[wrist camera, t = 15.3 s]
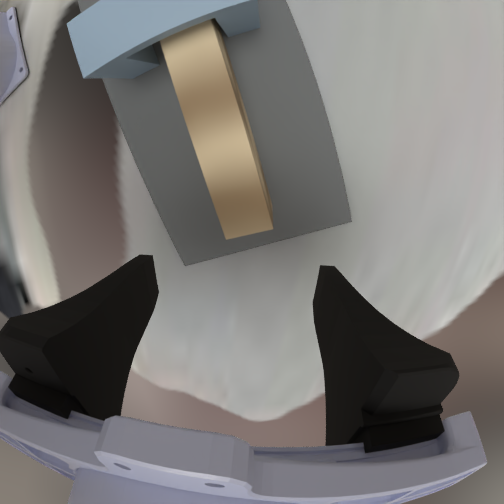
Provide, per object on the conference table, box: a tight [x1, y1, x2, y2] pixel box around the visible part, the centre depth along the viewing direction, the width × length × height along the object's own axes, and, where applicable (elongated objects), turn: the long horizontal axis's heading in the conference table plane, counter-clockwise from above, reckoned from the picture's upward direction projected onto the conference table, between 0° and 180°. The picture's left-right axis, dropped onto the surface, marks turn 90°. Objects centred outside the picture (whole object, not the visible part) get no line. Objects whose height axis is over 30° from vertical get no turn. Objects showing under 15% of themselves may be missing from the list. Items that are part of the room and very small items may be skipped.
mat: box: [78, 0, 352, 266], centre depth 14 cm, size 40×14×1 cm, turn 19°
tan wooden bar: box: [160, 18, 273, 240], centre depth 16 cm, size 17×3×4 cm, turn 15°
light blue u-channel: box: [67, 0, 260, 79], centre depth 12 cm, size 4×9×6 cm, turn 109°
